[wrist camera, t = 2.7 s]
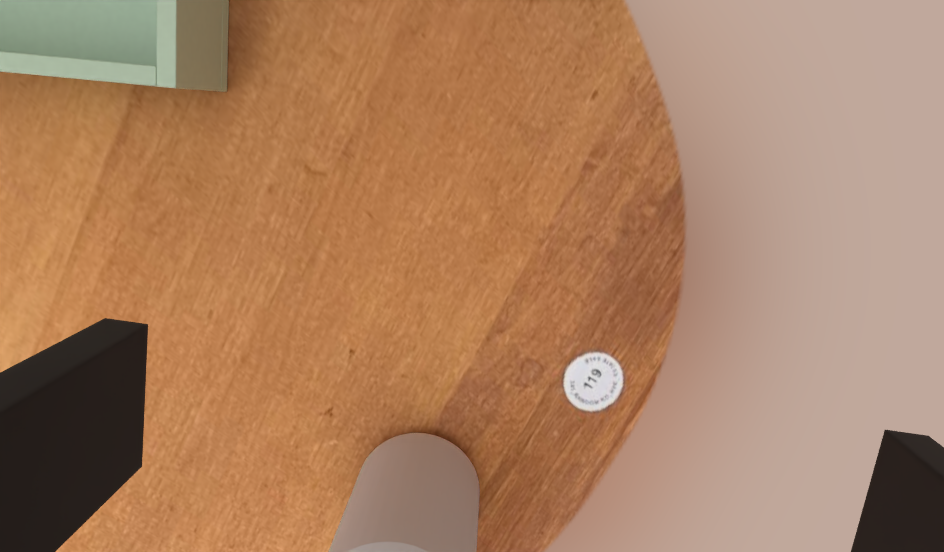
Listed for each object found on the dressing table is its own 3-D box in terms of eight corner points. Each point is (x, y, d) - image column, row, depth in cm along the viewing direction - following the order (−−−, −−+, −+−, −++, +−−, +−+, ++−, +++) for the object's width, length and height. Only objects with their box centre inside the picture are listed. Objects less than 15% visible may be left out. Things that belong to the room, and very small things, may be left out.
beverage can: (482, 535, 40) (475, 711, 28) (363, 537, 40) (308, 712, 29) (477, 424, 39) (468, 562, 27) (355, 427, 39) (293, 564, 27)
